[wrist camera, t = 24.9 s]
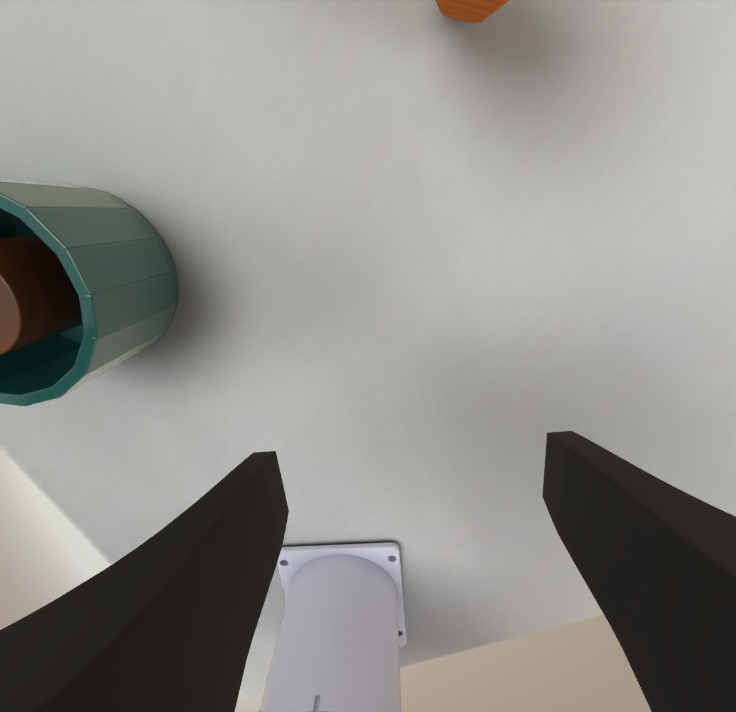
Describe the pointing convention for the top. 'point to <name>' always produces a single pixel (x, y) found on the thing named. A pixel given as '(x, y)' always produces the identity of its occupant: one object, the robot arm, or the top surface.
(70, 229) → the mug
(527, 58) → the top surface
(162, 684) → the robot arm
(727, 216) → the top surface
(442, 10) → the carrot
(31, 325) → the walnut peg
